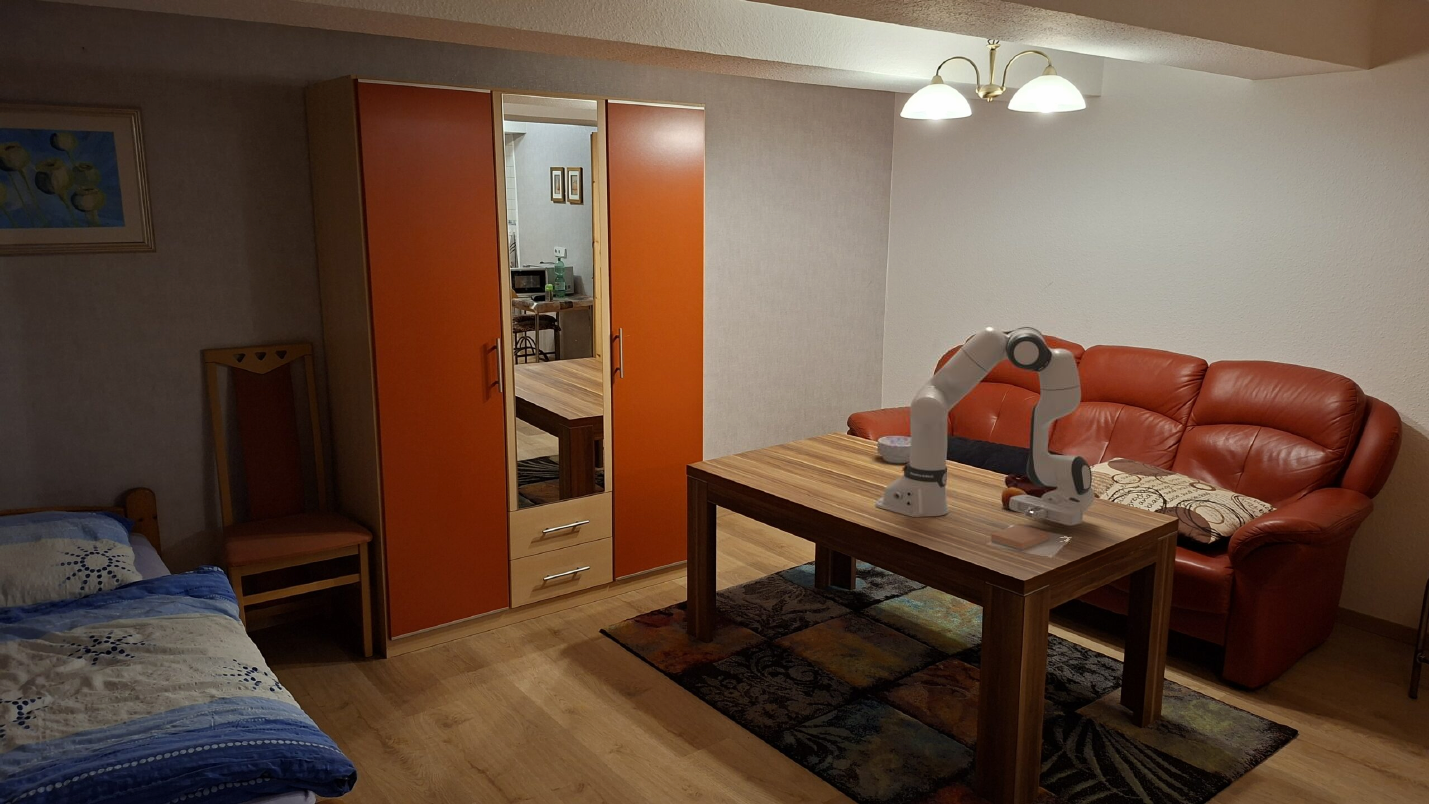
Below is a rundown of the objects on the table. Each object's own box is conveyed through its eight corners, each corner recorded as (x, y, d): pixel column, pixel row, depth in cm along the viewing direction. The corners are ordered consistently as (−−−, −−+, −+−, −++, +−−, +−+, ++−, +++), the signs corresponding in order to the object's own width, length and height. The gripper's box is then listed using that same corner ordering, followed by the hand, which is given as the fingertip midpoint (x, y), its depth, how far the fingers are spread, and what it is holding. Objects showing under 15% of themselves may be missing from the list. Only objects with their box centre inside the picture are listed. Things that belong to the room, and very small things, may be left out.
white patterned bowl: (879, 465, 352) (880, 444, 350) (874, 455, 367) (875, 435, 365) (921, 466, 351) (922, 445, 350) (914, 455, 366) (915, 435, 364)
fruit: (995, 506, 298) (1001, 482, 300) (1001, 513, 305) (1006, 490, 307) (1021, 511, 294) (1026, 486, 296) (1026, 518, 300) (1032, 494, 302)
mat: (986, 545, 268) (986, 544, 268) (1011, 526, 284) (1011, 524, 284) (1051, 559, 257) (1051, 557, 257) (1073, 538, 274) (1073, 536, 274)
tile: (1049, 540, 271) (1021, 551, 262) (1019, 531, 279) (990, 541, 270) (1050, 532, 271) (1022, 543, 262) (1019, 523, 278) (991, 533, 269)
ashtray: (1060, 506, 305) (1061, 491, 304) (1007, 502, 309) (1008, 487, 308) (1053, 490, 322) (1054, 476, 321) (1003, 487, 326) (1004, 473, 325)
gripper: (1025, 487, 287) (998, 495, 278) (1088, 503, 272) (1062, 512, 263) (1023, 507, 288) (997, 516, 280) (1086, 524, 273) (1060, 534, 264)
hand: (1029, 514), depth 271 cm, fingers closed
